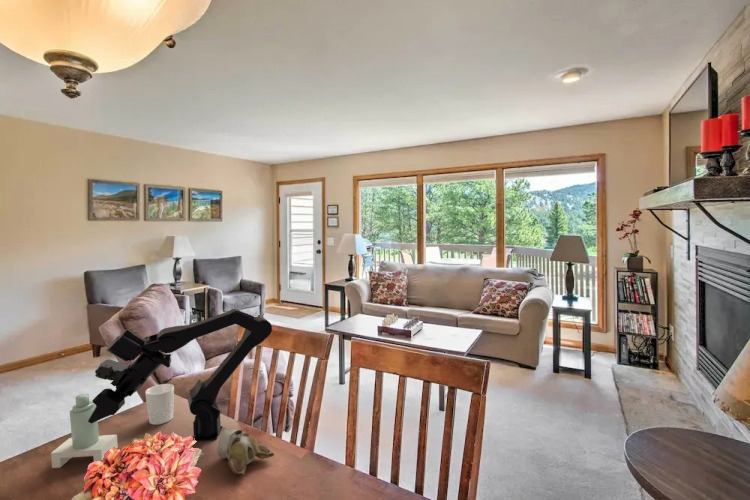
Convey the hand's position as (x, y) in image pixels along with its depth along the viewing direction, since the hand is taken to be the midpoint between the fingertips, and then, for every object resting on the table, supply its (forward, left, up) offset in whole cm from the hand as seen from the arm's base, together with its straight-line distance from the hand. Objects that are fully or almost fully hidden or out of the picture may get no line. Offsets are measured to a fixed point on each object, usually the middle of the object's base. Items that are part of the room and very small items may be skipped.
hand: (99, 413), depth 100 cm
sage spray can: (+3, 0, -8) cm, 9 cm away
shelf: (+4, 0, -12) cm, 12 cm away
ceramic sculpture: (-38, +7, -12) cm, 41 cm away
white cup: (-7, -18, -12) cm, 23 cm away
